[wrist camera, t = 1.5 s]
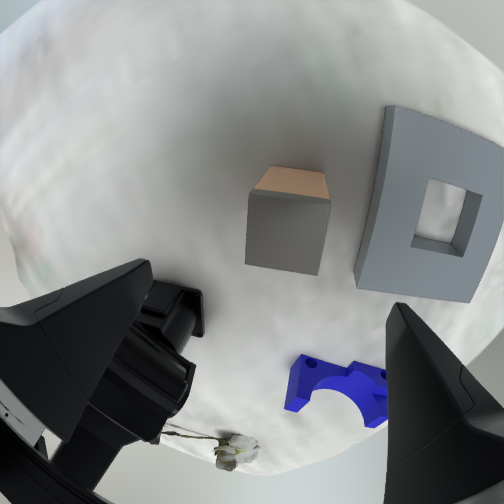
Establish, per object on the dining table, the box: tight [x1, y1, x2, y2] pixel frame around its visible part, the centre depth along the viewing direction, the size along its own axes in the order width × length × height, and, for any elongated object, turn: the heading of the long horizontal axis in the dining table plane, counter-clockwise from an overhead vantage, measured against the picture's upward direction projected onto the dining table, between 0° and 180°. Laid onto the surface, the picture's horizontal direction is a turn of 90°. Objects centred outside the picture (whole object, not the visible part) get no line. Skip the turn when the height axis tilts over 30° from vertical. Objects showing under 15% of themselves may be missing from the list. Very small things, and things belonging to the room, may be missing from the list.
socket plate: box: [354, 106, 504, 303], centre depth 17 cm, size 14×12×2 cm
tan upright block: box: [245, 166, 331, 276], centre depth 17 cm, size 4×4×8 cm
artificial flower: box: [149, 427, 258, 471], centre depth 43 cm, size 9×22×10 cm, turn 89°
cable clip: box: [284, 354, 388, 428], centre depth 26 cm, size 12×4×6 cm, turn 72°
